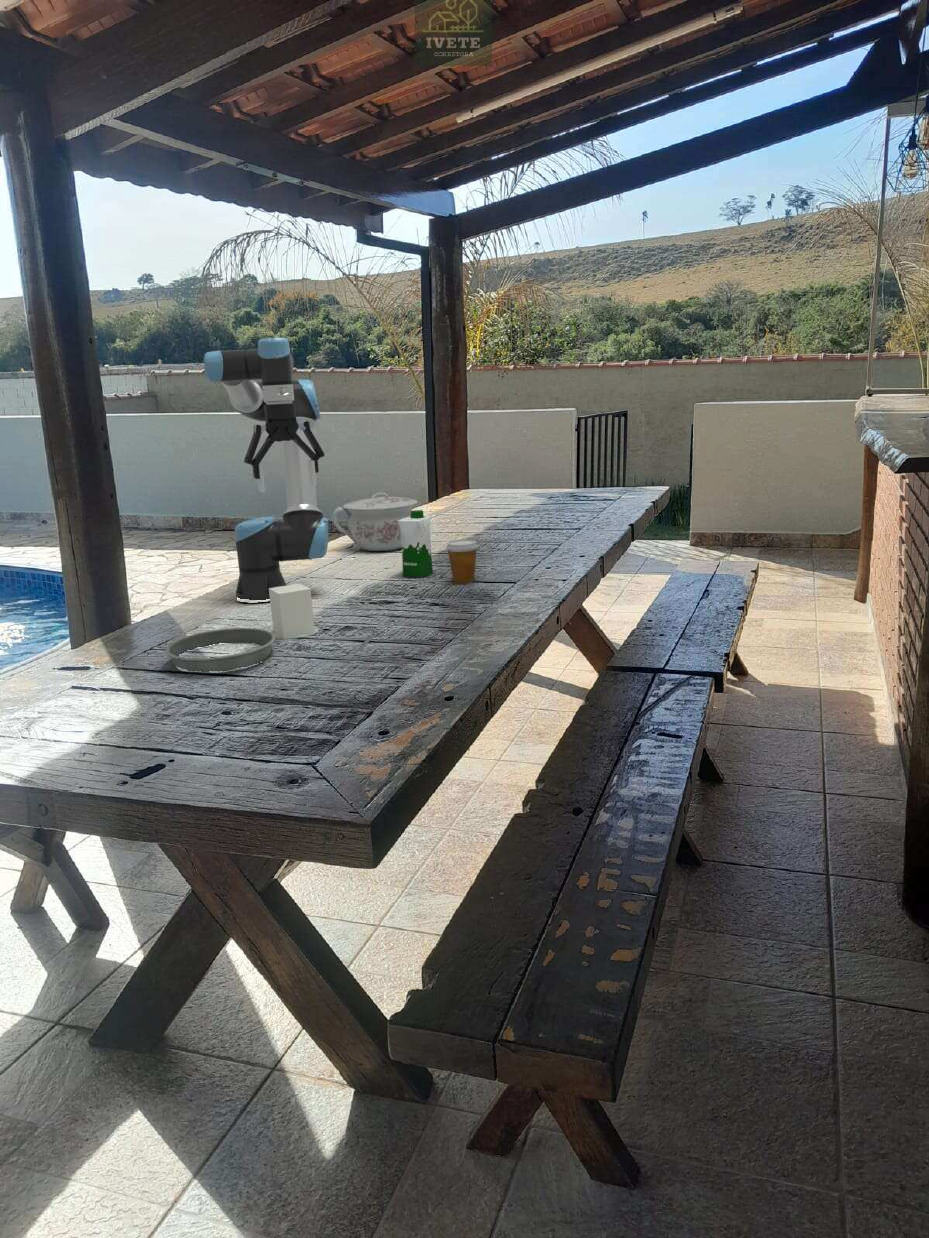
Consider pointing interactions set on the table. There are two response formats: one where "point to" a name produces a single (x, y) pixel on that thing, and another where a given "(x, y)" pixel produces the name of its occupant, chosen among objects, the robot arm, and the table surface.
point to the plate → (295, 636)
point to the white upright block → (291, 610)
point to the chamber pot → (375, 521)
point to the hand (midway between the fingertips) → (288, 489)
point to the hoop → (215, 638)
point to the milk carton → (416, 545)
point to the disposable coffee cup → (462, 560)
